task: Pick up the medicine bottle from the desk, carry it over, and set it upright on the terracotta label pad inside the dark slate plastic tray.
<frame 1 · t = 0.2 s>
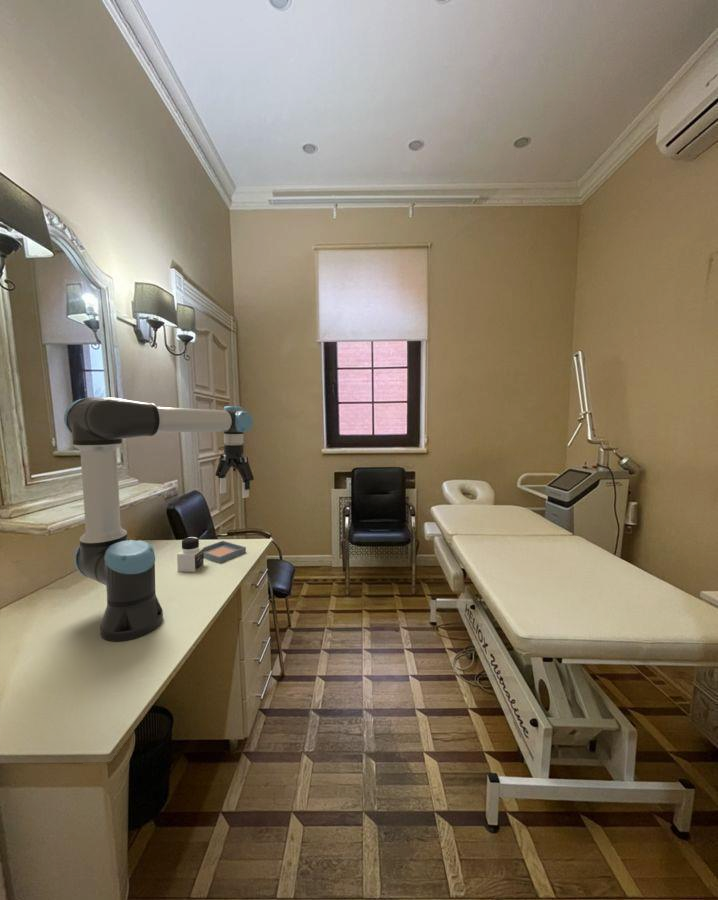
hand: (234, 495, 149), 27 cm above the table, fingers open, 13 cm apart
tray: (221, 554, 156), on the table
medicine bottle: (190, 568, 142), on the table
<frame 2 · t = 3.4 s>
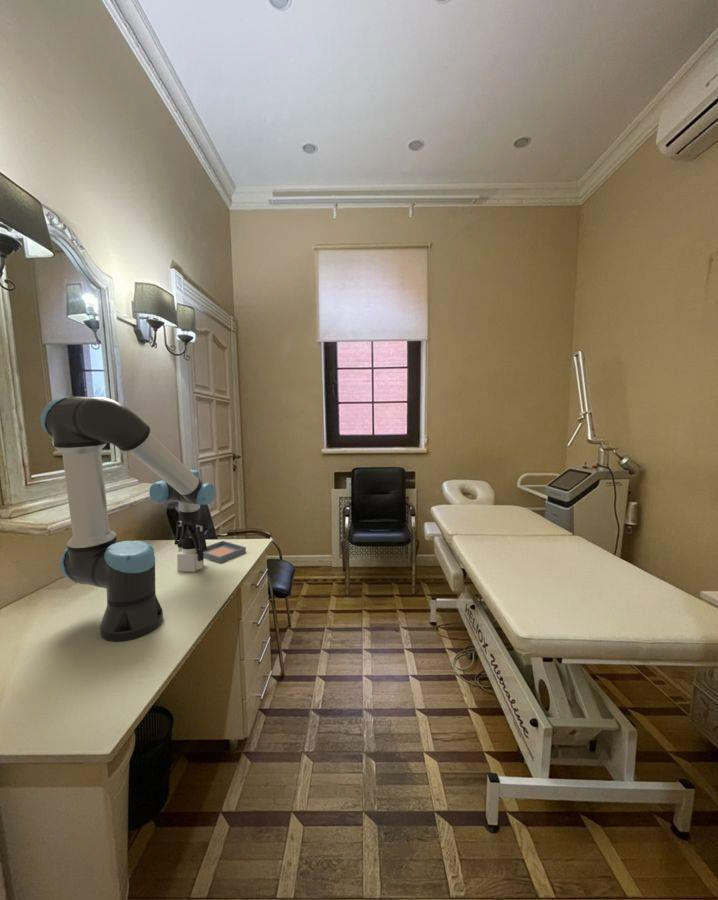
hand: (190, 565, 142), 1 cm above the table, fingers closed on medicine bottle, 9 cm apart
medicine bottle: (190, 568, 142), on the table, touching gripper
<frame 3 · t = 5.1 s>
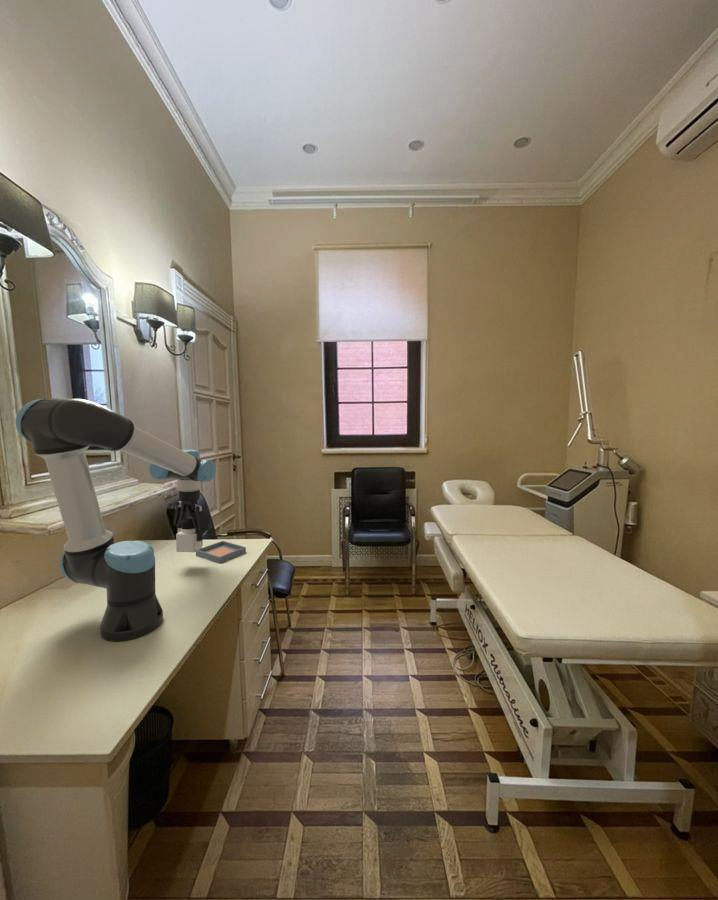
hand: (189, 546, 140), 9 cm above the table, fingers closed on medicine bottle, 9 cm apart
medicine bottle: (189, 549, 141), point 8 cm above the table, touching gripper
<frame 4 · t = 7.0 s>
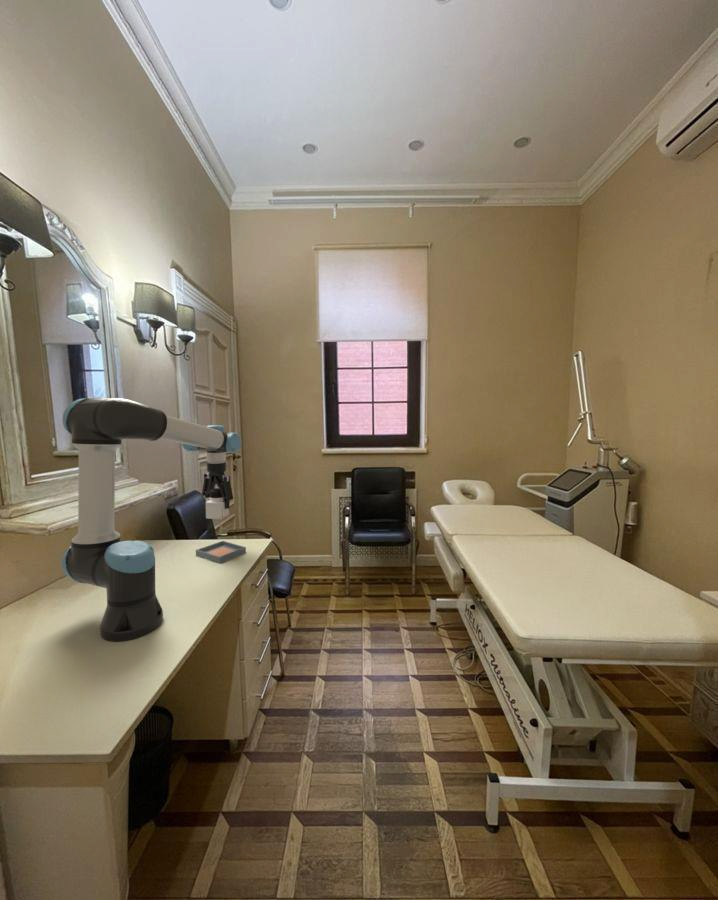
hand: (217, 514, 153), 18 cm above the table, fingers closed on medicine bottle, 9 cm apart
medicine bottle: (217, 517, 153), point 17 cm above the table, touching gripper
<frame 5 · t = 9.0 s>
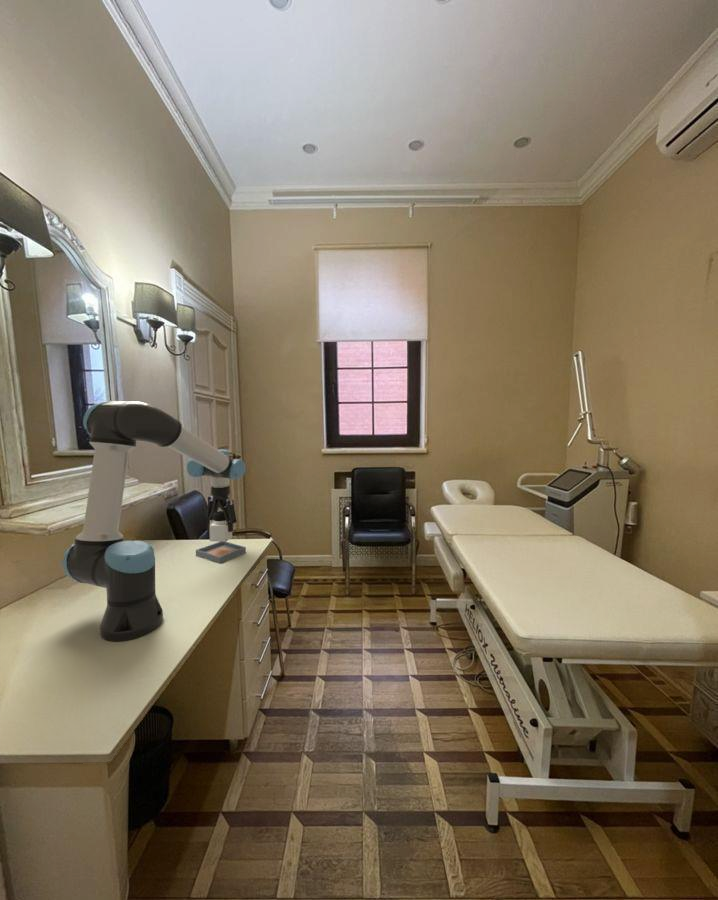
hand: (221, 536, 156), 8 cm above the table, fingers closed on medicine bottle, 9 cm apart
medicine bottle: (221, 539, 156), point 7 cm above the table, touching gripper
when the fingers open (3 cm above the table, at t = 10.4 s): medicine bottle drops 1 cm, resting on tray.
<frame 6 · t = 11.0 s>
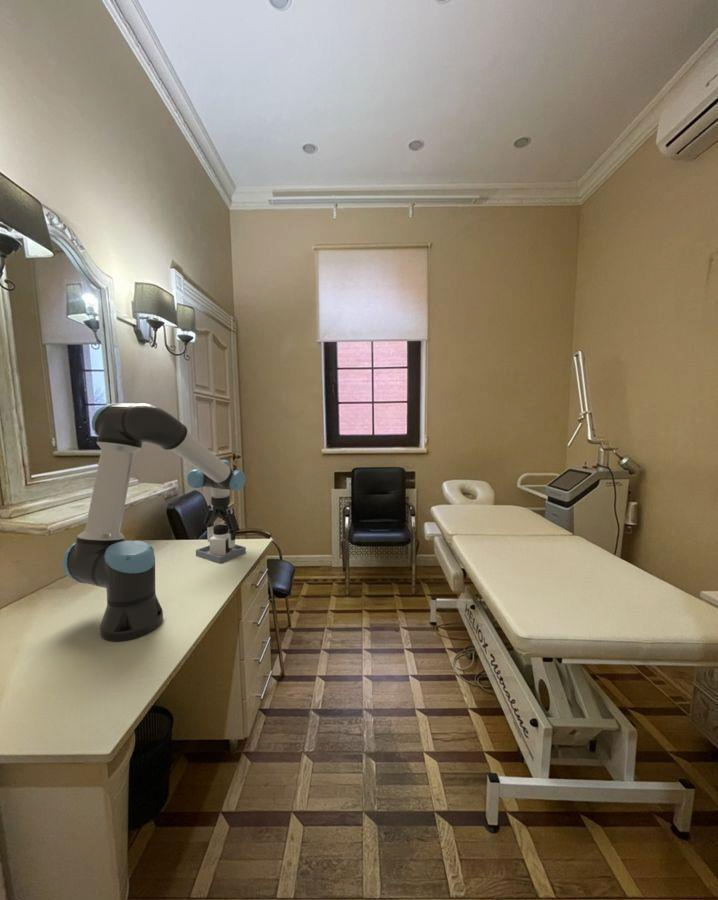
hand: (221, 544, 156), 5 cm above the table, fingers open, 13 cm apart
medicine bottle: (221, 552, 156), point 1 cm above the table, touching tray
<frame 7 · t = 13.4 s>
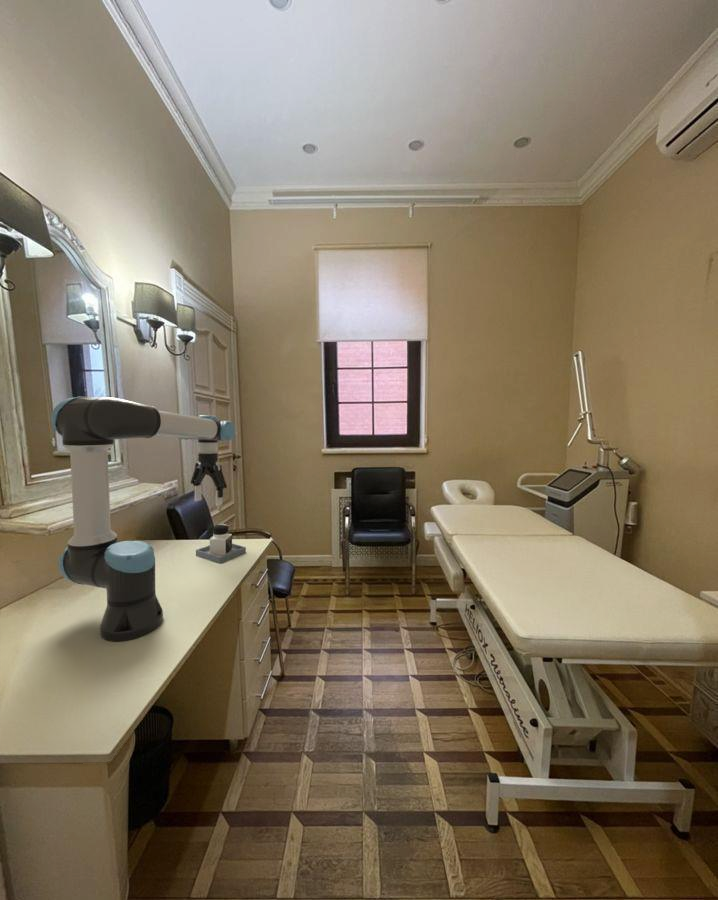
hand: (208, 503, 151), 24 cm above the table, fingers open, 13 cm apart
nothing on the table moved.
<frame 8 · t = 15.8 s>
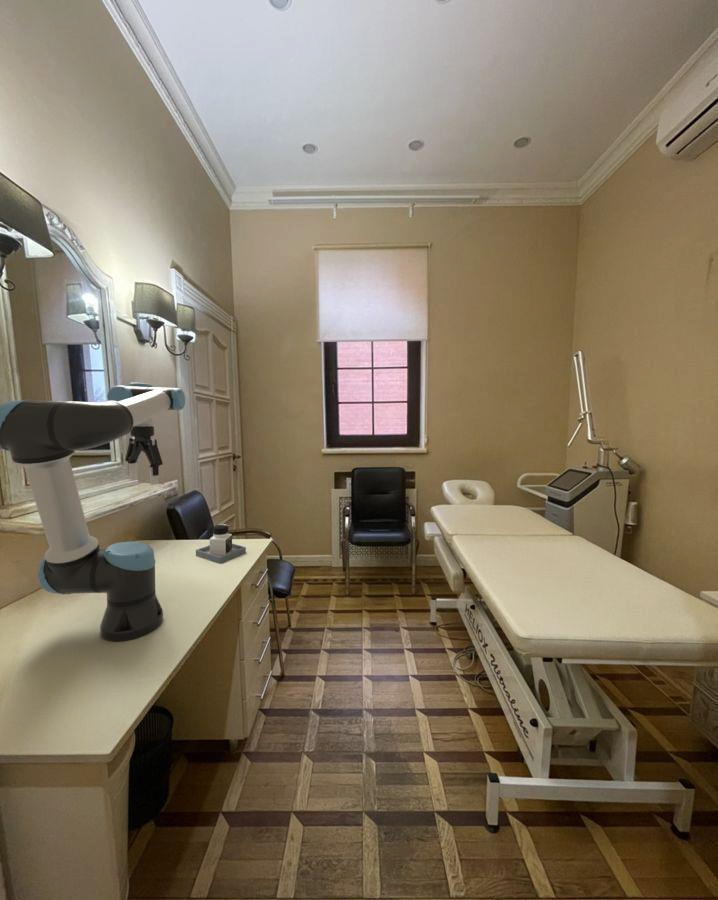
hand: (144, 482, 134), 35 cm above the table, fingers open, 13 cm apart
nothing on the table moved.
at the end: medicine bottle inside the target area on the tray (0.1 cm from its centre), point 0.7 cm above the tray's base; medicine bottle tilted 0°; the gripper is holding nothing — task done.
